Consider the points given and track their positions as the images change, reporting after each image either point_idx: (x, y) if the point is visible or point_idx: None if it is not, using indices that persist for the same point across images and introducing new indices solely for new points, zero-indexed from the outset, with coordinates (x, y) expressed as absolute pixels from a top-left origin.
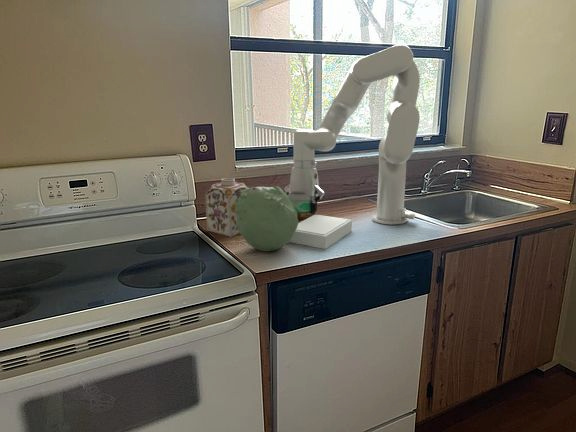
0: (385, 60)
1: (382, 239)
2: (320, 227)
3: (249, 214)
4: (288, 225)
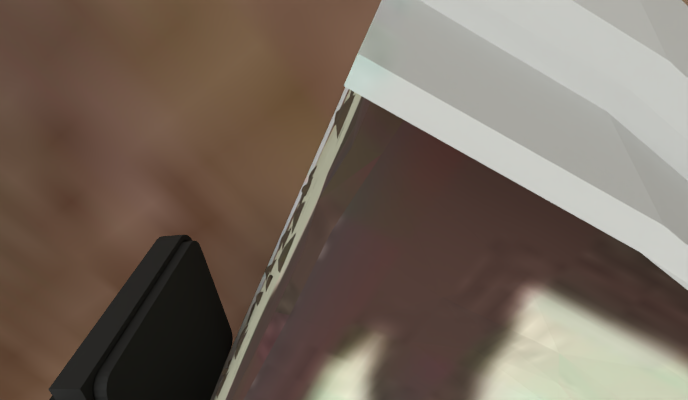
0: None
1: None
2: None
3: None
4: None
